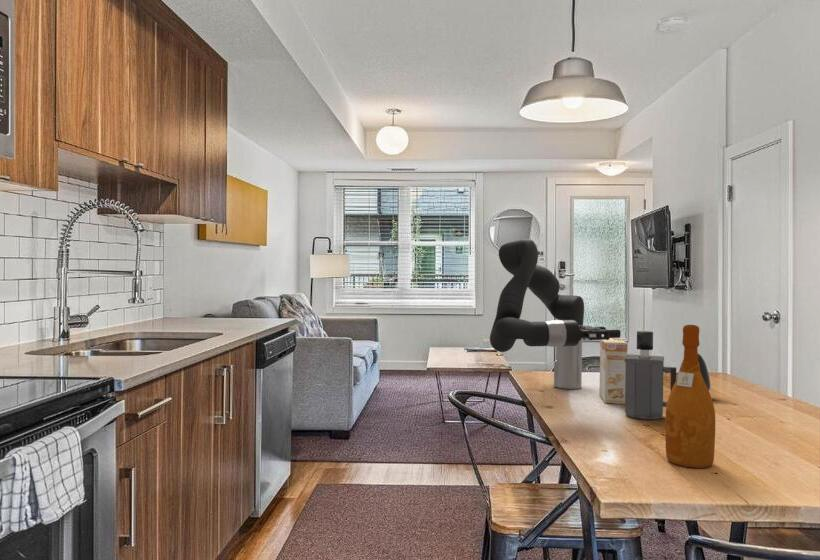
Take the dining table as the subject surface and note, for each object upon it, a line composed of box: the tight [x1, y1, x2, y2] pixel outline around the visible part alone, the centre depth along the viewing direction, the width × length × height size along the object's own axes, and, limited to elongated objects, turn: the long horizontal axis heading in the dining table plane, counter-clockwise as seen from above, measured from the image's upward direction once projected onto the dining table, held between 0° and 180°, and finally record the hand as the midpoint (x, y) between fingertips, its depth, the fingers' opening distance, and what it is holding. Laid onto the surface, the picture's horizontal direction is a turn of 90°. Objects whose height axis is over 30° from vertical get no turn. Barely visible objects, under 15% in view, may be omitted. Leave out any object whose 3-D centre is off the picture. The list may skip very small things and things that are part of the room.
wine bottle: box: [664, 324, 716, 469], centre depth 131 cm, size 10×10×30 cm
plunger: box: [636, 330, 654, 358], centre depth 174 cm, size 8×8×23 cm
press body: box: [624, 353, 677, 421], centre depth 173 cm, size 13×10×17 cm
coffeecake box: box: [598, 338, 629, 405], centre depth 198 cm, size 15×7×20 cm, turn 168°
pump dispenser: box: [677, 353, 711, 391], centre depth 201 cm, size 10×10×15 cm
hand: (612, 332), depth 174 cm, fingers open, 8 cm apart
